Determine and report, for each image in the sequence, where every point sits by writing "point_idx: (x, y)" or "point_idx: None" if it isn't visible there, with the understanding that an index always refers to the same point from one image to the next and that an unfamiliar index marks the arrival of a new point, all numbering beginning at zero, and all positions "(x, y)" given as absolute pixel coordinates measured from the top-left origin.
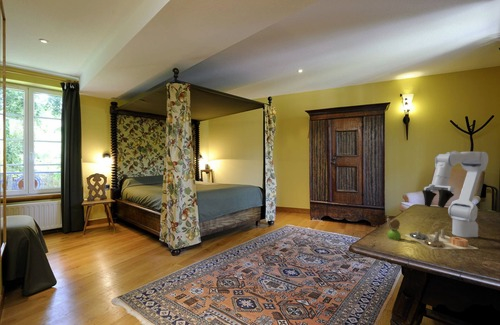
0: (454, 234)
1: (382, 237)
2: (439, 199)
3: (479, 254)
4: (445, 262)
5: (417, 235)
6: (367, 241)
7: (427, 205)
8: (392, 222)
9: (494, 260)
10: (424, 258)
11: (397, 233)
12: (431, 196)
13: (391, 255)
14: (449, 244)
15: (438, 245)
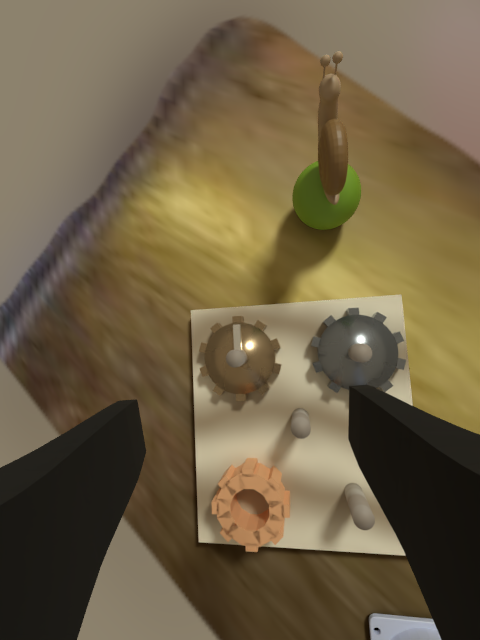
0: (429, 636)
1: (377, 175)
2: (73, 438)
3: (170, 501)
4: (99, 288)
5: (344, 338)
6: (307, 80)
7: (350, 411)
8: (322, 129)
9: None
10: (130, 234)
11: (299, 192)
12: (446, 590)
13: (154, 125)
14: (247, 440)
15: (201, 348)
